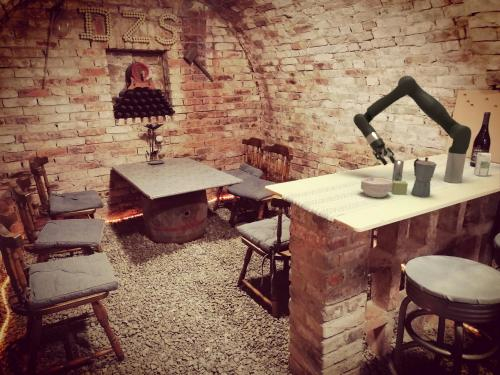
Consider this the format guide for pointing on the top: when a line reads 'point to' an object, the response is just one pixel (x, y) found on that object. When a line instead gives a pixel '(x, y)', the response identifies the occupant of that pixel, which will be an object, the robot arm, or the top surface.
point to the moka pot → (423, 177)
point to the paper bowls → (376, 186)
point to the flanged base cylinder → (397, 170)
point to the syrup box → (482, 164)
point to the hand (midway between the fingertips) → (390, 163)
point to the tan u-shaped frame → (399, 187)
